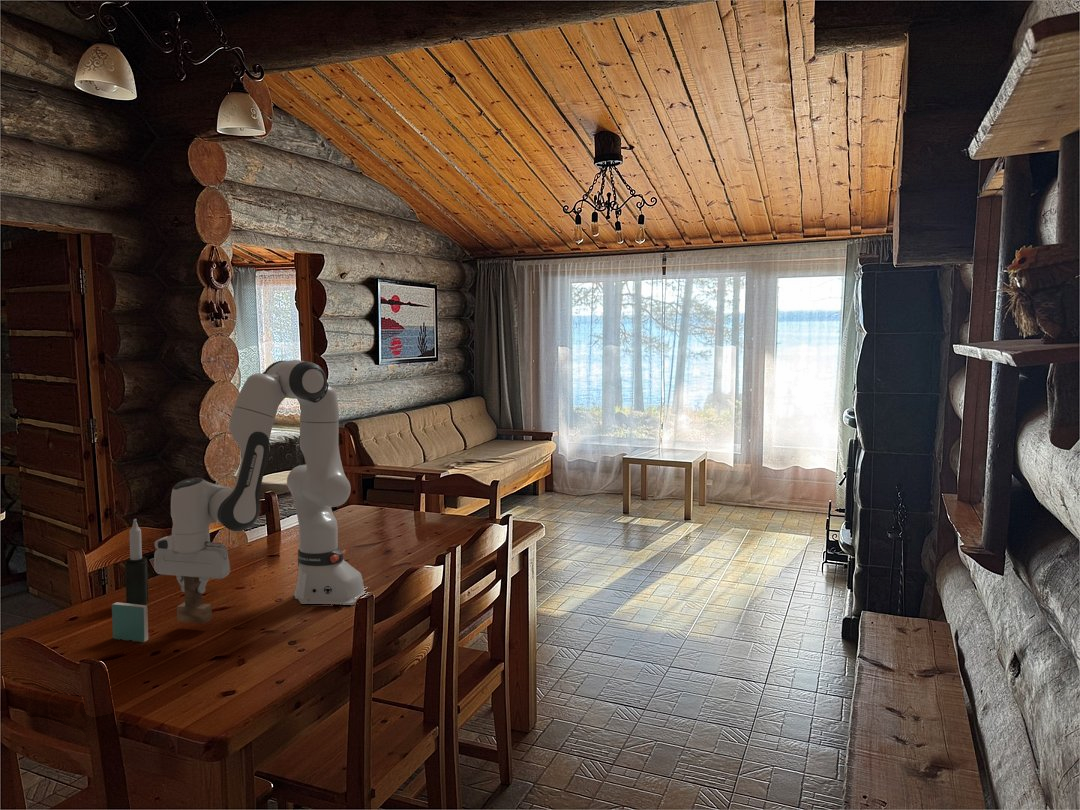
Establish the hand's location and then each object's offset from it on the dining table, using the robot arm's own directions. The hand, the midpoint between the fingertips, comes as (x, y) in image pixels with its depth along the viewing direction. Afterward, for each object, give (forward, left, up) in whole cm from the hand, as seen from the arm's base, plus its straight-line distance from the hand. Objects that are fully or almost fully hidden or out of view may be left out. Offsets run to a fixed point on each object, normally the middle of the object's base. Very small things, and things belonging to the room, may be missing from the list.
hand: (193, 591), depth 188 cm
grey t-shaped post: (0, 0, -8) cm, 8 cm away
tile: (+11, +9, -10) cm, 18 cm away
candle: (+27, -12, -10) cm, 31 cm away
